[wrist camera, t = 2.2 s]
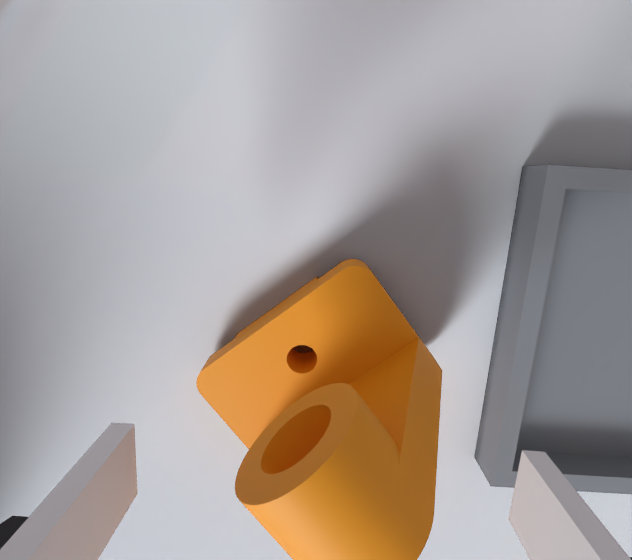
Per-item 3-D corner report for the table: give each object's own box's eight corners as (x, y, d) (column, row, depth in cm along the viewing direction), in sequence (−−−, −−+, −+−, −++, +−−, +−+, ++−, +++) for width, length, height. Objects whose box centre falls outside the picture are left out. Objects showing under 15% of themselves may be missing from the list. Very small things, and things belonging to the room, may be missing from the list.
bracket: (355, 248, 23) (393, 320, 11) (428, 349, 24) (531, 507, 13) (202, 358, 24) (95, 522, 13) (279, 448, 26) (246, 671, 14)
